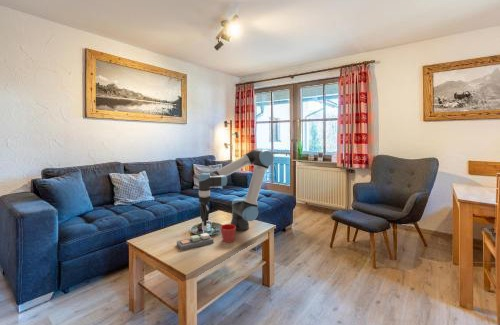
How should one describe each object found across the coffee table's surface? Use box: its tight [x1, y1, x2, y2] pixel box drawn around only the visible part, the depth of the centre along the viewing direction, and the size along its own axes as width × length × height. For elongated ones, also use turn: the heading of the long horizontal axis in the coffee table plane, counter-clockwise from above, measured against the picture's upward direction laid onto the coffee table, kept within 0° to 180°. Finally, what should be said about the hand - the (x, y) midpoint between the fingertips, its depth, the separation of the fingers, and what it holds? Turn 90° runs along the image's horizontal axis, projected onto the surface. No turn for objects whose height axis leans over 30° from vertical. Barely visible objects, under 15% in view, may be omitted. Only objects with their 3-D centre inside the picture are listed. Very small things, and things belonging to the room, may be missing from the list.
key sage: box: [190, 234, 200, 242], centre depth 173 cm, size 5×5×2 cm
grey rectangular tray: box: [176, 235, 214, 251], centre depth 173 cm, size 22×10×3 cm, turn 122°
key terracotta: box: [180, 239, 190, 245], centre depth 169 cm, size 5×5×2 cm
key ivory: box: [199, 232, 211, 240], centre depth 177 cm, size 5×5×2 cm
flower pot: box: [220, 223, 236, 243], centre depth 180 cm, size 11×11×10 cm
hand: (204, 229), depth 176 cm, fingers closed
